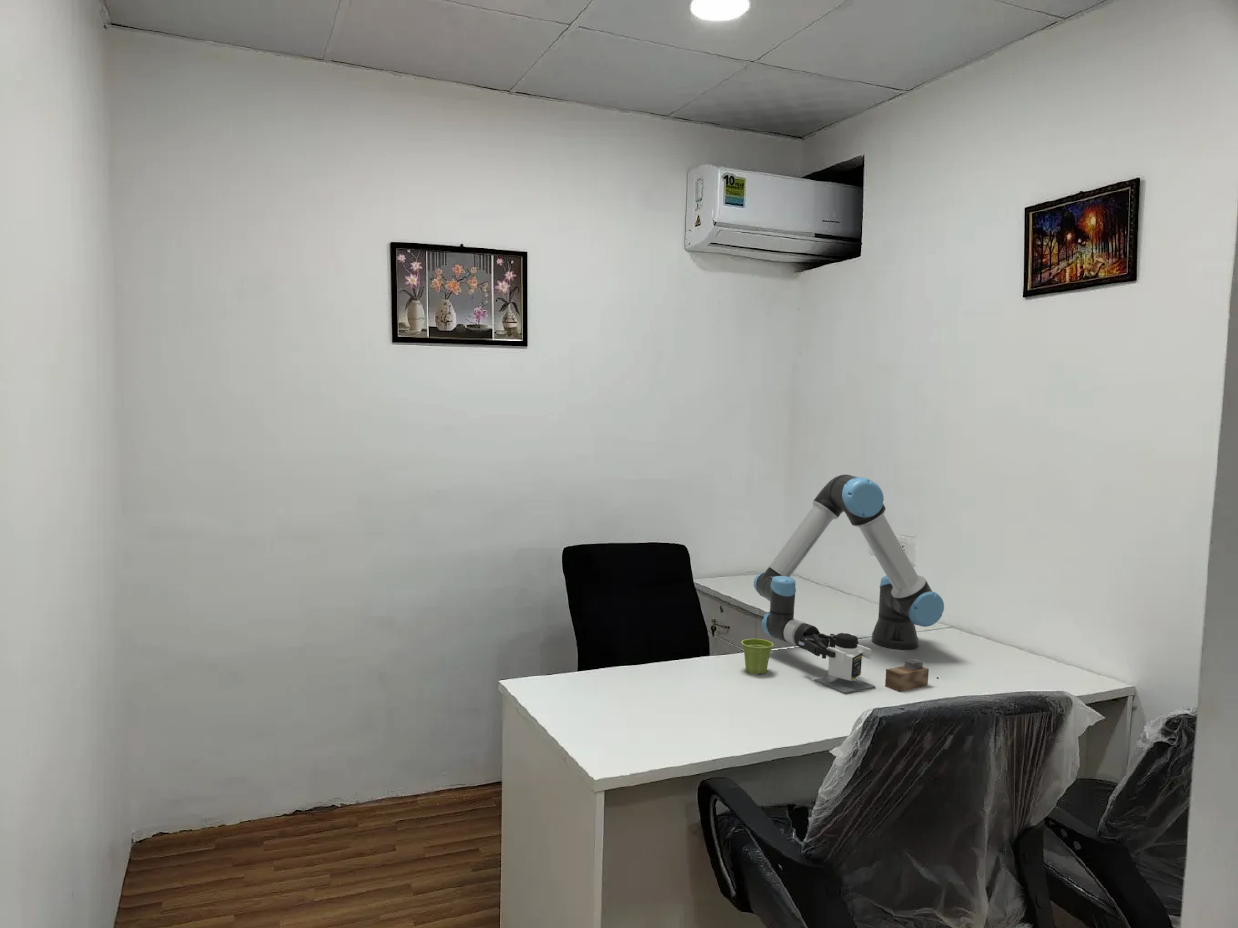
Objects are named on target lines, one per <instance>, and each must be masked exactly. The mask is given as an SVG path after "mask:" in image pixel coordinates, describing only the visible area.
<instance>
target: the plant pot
mask: <svg viewBox="0 0 1238 928" xmlns="http://www.w3.org/2000/svg"><path fill="white" fill-rule="evenodd" d="M741 645H742V648H743V653H744V665H745V671H747V673H749V674H753V675H759V674H761V675H763V674H766V673H767V671H768V666H769V659H770V654H771V651H772V648H773V647H774V643H773V642H772V641H769V640H767V639H762V638H747V639H743V640H741Z"/></svg>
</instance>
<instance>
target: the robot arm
mask: <svg viewBox="0 0 1238 928" xmlns="http://www.w3.org/2000/svg"><path fill="white" fill-rule="evenodd" d="M884 498H885V497H884V493H883V491H882V489H881V487H880V486H879V485H878V484H877V483H876V482H874V481H873V480H871V479H869V478H866V477H861V476H860V477H859V476H855V475H850V474H841V475H840V474H839V475H837V476H835V477H834V478H832V479H830V480H829V481H828V482H827V483H826V484H825V486H824V487H823V488H822V489H821V490H820V491H819V493H818V494H817V495H816V497H815V499H813V500H812V507H811V509H810V510H809V511H808V513H807V514H806V516H805V517H804V518H803V520H802V521H801V523H800V524H799V525H798V526H797V528H796V529H795V531H794V532H793V533H792V535H790V537H789V539H788V540H787V542H786V543H785V544H784V546H783V547H782V548H781V550H780V551H779V553H778V554H777V555H776V556H775V558H774V559H773V561H772V562H771V564H770V565H769V566H768V568H767V569H766V570H765V571H764V572H760V573H759V574H757V575H756V576H755V577H754V580H753V588H754V589H755V591H756V592H757V593H758V594H759V596H761V597H763V598H764V599H766V600H767V601H768V602H770V603H769V611H768V612H766V613H765V614H764V615H763V619H762V620H761V628H762V630H763V631H764V633H765V634H766V635H768V636H770V637H772V638H773V639H777V640H781V641H783V642H786V643H788V644H790V645H792V646H793V647H794V648H795V647H798V648H801V649H803V650H805V651H807V652H809V653H811V654H813V655H814V656H816V657H820V656H821V659H824V660H825V659H827V657H828V658H829V657H830V658H833V659H835V660H838V661H840V662H843V663H846V654H847V653H845V652H842V651H839V650H837V649H835V643H836V635H837V634H834V633H829V635H827V634H824V633H820V630H819V629H818V628H817V627H816V626H814V625H812V624H809V623H806V622H804V621H802V620H798V619H795V603H796V592H797V588H796V580H795V578H793V577H791V576H792V575H793V574H794V573H795V571H796V570H797V569H798V568H799V566H800V564H801V563H802V561H803V560H804V559H805V558H806V556H807V555H808V554H809V552H810V551H811V549H812V548H813V547H814V545H815V544H816V543H817V541H818V540H819V538H820V537H821V536H822V535H823V533H824V532H825V530H826V529H827V528H828V526H829V525H830V524H831V523H832V521H834V520H837V519H838V518H839V517H840V516H841V514H843V512H844V513H845V515H846V517H847V518H848V520H849V522H850V524H851V525H852V526H853V527H857V528H859V530H860V532H861V533H862V535H863V537H864V538H865V539H864V540H866V542H867V543H868V544H867V545H868V546H869V547H870V550H871V551H872V552H873V555H874V556H875V558H876V560H877V562H878V563H879V566H880V567H881V570H882V571H883V572H884V574H885V575H886V576H883V577H881V578H880V583H879V584H880V585H879V597H878V598H879V599H878V600H879V601H878V602H879V603H878V615H877V616H878V618H877V621H876V624H874V625H875V626H874V628H873V631H872V633H871V642H872V643H874V644H875V645H878V646H881V647H885V648H889V649H896V650H913V649H916V648H918V647H919V640H920V639H919V637H918V633H917V630H916V626H919V627H923V628H928V627H931V626H934V625H935V624H936V623H938V622H939V620H940V619H941V618H942V617H943V613H944V610H945V604H944V599H943V598H942V597H941V596H940V594H938V592H936V591H933V590H932V589H931V588H932V587H930V585H929V583H928V582H927V580H926V577H924V576H922V575H918V573H917V572H916V569H915V568H914V566H913V564H912V563H911V561H910V559H909V558H908V555H907V554H906V552H905V550H904V549H903V547H902V545H901V543H900V541H899V539H898V538H897V536H896V534H895V532H894V530H893V529H892V527H891V526H890V525H891V524H890V523H889V521H888V520H887V518H886V516H885V512H886V506H885V504H884V500H885V499H884ZM859 643H860V641H858V643H857V650H858V651H862V658H866V659H869V660H870V659H872V649H871V648H869V647H866V646H863V645H861V644H859Z"/></svg>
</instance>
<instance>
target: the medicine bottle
mask: <svg viewBox="0 0 1238 928" xmlns="http://www.w3.org/2000/svg"><path fill="white" fill-rule="evenodd" d="M835 635H836V643H835V648H834V649H837V650H839V651H842V652H845V653H847V654H846V663H843V662H840V661H838V660H835V659H833V658H830V657H828V669H827V675H828V676H833V677H837V678H841V679H845V680H849V681H852V680H853V679H855V678H856V679H858V677H859V676H861V675H862V674H861V673H862V662H863V661H862V659H863V656H862V651H858V650H857V643H858V640H859V639H858V636H857V635H855V634H853V633H851V632H850V633H849V632H840V633H837V634H835Z"/></svg>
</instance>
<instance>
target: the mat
mask: <svg viewBox="0 0 1238 928" xmlns="http://www.w3.org/2000/svg"><path fill="white" fill-rule="evenodd" d="M813 682H815V683H817V684H820V685H822V686H824V687H826V688H828V689H830V690H833V691H836V692H838V693H840V694H842V695H849V694H853V693H858V692H863V691H868V690H869V691H870V690H873V689H874V690H875V689H876V685H874V684H870V683H868V682H866V681H864V680H861V679H858V678H855V679H853V680H852V681H849V680H845V679H841V678H837V677H833V676H829V675H828V676H823V677H818V678H814V679H813Z"/></svg>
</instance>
